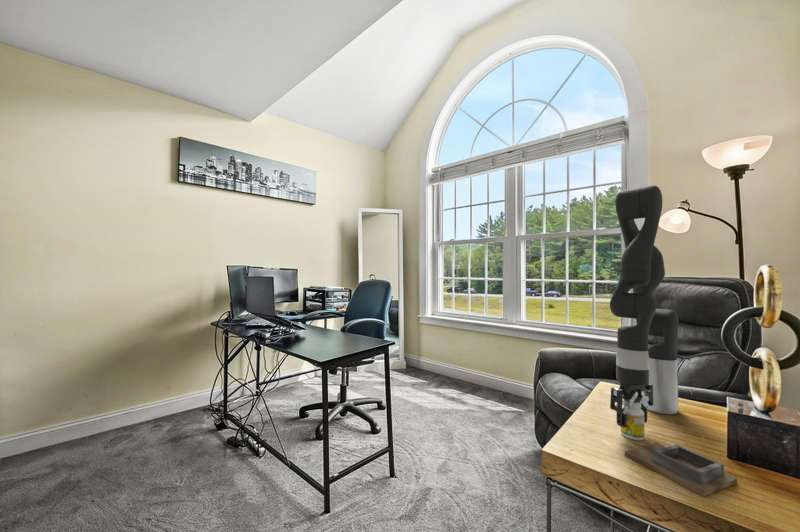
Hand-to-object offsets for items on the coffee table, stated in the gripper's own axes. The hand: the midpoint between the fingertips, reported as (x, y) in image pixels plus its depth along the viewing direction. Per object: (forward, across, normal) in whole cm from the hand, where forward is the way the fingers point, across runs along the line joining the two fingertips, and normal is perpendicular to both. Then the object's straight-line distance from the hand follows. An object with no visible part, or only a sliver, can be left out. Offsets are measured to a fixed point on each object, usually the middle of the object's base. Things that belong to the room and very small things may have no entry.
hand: (632, 423), depth 92 cm
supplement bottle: (+4, 0, 0) cm, 4 cm away
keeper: (+3, +6, +14) cm, 16 cm away
